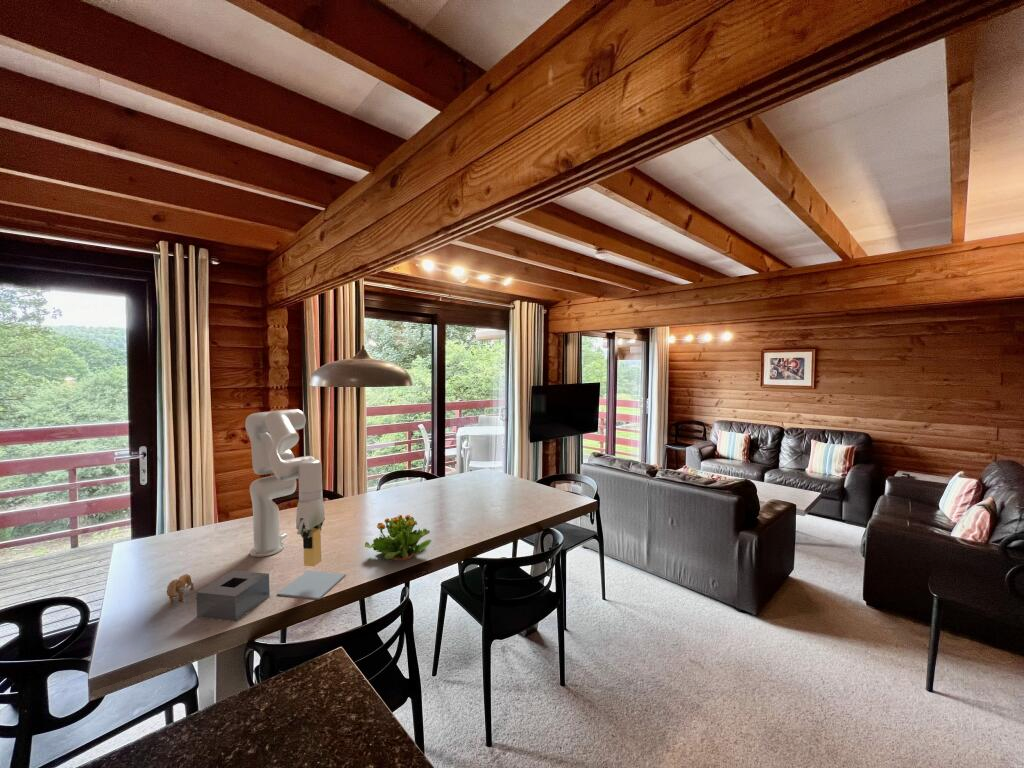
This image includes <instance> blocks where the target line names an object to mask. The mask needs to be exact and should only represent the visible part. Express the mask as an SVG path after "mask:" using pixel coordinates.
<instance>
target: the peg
mask: <svg viewBox="0 0 1024 768" xmlns="http://www.w3.org/2000/svg"><path fill="white" fill-rule="evenodd" d="M306 532H307V533H308V531H306ZM321 532H322V530H320V529H317V528H312V530H311V537H312V548H311V549H307V548H303V565H304V567H305V566H306V567H316V566H317V565H319V563H321V562H322V540H321V539H322V535H321Z"/></svg>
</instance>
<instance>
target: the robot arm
mask: <svg viewBox="0 0 1024 768" xmlns="http://www.w3.org/2000/svg"><path fill="white" fill-rule="evenodd" d="M306 422H307V419H306V415H305V413H304V411H302V410H300V409H298V408H293V409H279V410H274V411H262V412H254V413H251V414H249V415H248V416H247V417H246V418H245V422H244V426H245V431H246V433H247V436H248V438H249V441H250V447H251V448H250V449H251V461H252V469H253V470H252V471H253V472H254V474H256V475H258V476H259V475H268V474H273V475H269V476H265V477H260V478H257V479H255V480H253V481H252V482H251V483H250V485H249V494H250V498H251V503H252V504H251V505H252V522H253V547H252V548H251V549H250V550H249V555H250V556H251V557H255V558H256V557H257V558H260V557H261V558H264V557H267V556H272V555H275V554H278V553H279V552H281V551H283V549H284V548H285V544H284V542H282V541H283V540H284V539H286V538H287V537H288V536H287V533H285V532H284V533H282V534H280V508H279V506H278V504H276V502H274V501H273V499H277V498H281V497H286V496H289V495H293V494H294V493H295V491H296V489H297V480H298V502H297V507H296V515H295V516H296V517H295V518H296V519H295V526H296V530H297V532H296V534H297V535H300V536H301V538H302V543H303V545H302V547H303V549H304V548H307V549H311V548H312V537H311V530H312V528H317V529H320V530H321V531H322V526H323V524H324V522H325V520H326V518H325V505H324V504H325V503H324V497H323V466H322V465H323V464H322V462H321V460H318V459H316V458H315V457H314V456H311V455H305V456H299V457H295V455H294V452H293V451H292V450H291V449H292V448H293V447H295V446H296V445H297V444H298V442H299V441H300V435H299V433H298V432H297V430H302V429H303V428H304V427H305V426H306V424H307V423H306ZM306 531H308V533H307V532H306Z"/></svg>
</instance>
